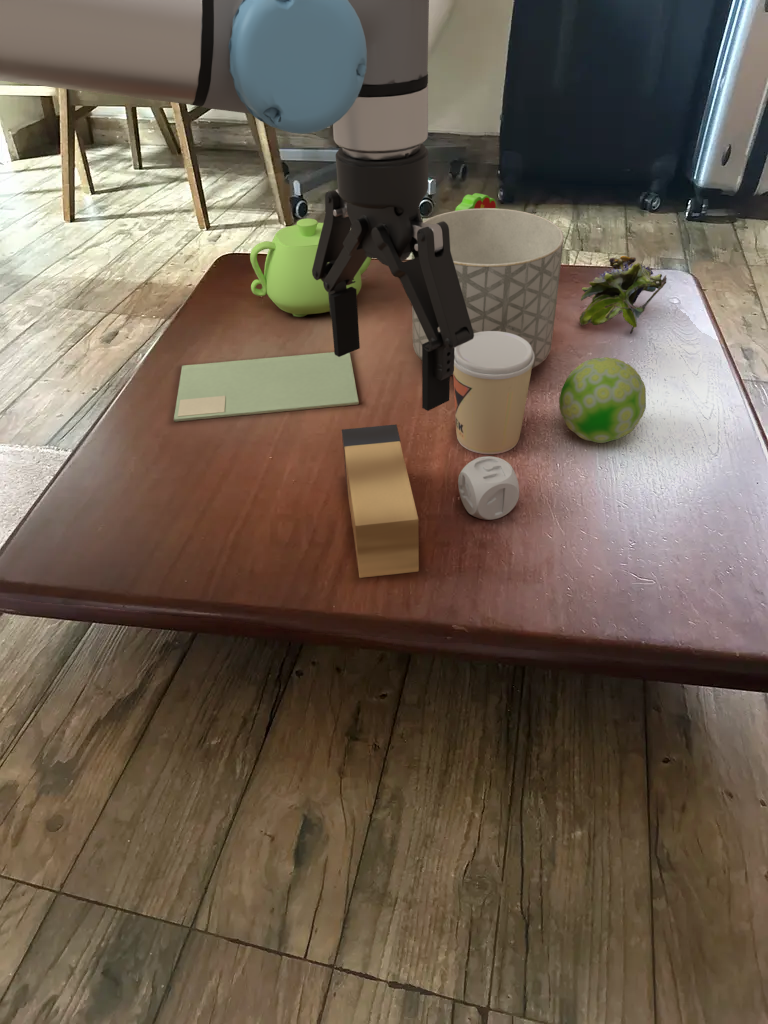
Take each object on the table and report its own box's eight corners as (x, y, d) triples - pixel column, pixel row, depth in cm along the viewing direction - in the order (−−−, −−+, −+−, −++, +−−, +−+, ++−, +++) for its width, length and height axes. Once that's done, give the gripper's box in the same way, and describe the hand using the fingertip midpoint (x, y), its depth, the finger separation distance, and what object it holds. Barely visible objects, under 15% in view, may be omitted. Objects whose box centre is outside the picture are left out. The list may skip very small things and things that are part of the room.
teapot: (373, 272, 134) (370, 195, 126) (400, 309, 123) (398, 226, 115) (246, 293, 130) (234, 213, 121) (263, 332, 119) (250, 248, 110)
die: (475, 525, 83) (477, 488, 80) (457, 497, 87) (458, 461, 84) (517, 513, 85) (521, 477, 81) (497, 487, 88) (500, 451, 85)
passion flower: (608, 342, 124) (652, 273, 120) (644, 362, 115) (694, 288, 111) (555, 310, 119) (600, 237, 115) (589, 329, 110) (638, 250, 106)
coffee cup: (452, 413, 100) (454, 328, 92) (526, 417, 99) (534, 330, 91) (446, 456, 93) (448, 367, 85) (526, 461, 92) (535, 371, 84)
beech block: (419, 571, 78) (419, 518, 74) (359, 578, 78) (354, 525, 73) (397, 475, 91) (396, 424, 86) (345, 480, 90) (341, 429, 86)
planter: (572, 351, 111) (589, 224, 99) (506, 413, 100) (517, 277, 88) (458, 319, 120) (462, 199, 108) (386, 372, 109) (381, 244, 97)
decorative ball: (609, 406, 100) (622, 335, 94) (654, 448, 93) (671, 375, 86) (540, 422, 98) (548, 351, 91) (580, 467, 91) (592, 392, 84)
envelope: (174, 421, 101) (173, 418, 101) (182, 367, 111) (181, 364, 111) (358, 404, 103) (358, 401, 102) (349, 353, 113) (349, 349, 113)
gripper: (529, 168, 57) (508, 414, 71) (327, 109, 72) (343, 321, 86) (453, 193, 53) (447, 446, 67) (259, 125, 69) (286, 343, 82)
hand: (389, 376), depth 76 cm, fingers open, 13 cm apart
